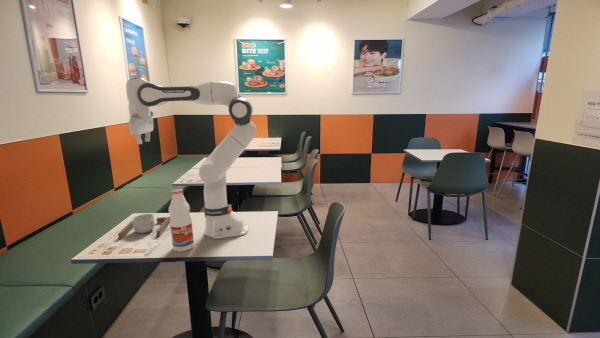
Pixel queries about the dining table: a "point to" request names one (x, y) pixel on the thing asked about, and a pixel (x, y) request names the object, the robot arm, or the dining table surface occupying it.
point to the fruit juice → (180, 222)
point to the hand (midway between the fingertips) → (144, 142)
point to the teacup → (143, 223)
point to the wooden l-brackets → (165, 222)
